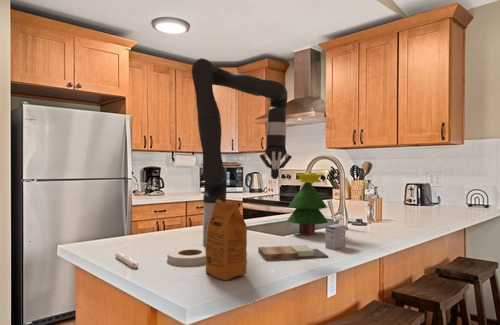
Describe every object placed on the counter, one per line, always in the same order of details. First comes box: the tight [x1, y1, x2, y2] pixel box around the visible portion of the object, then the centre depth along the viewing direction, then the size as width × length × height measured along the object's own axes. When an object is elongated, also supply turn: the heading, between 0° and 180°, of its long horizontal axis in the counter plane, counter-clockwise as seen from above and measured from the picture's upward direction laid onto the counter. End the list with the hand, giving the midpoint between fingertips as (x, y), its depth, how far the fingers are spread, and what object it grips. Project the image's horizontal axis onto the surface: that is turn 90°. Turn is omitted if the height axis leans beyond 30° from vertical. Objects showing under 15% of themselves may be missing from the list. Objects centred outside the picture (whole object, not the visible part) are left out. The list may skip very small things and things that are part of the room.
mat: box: [295, 248, 329, 260], centre depth 132 cm, size 12×11×1 cm
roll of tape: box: [166, 246, 206, 267], centre depth 124 cm, size 16×15×3 cm
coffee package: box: [205, 199, 248, 281], centre depth 107 cm, size 10×12×22 cm
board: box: [257, 245, 298, 261], centre depth 130 cm, size 12×11×2 cm
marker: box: [114, 252, 139, 269], centre depth 119 cm, size 18×2×2 cm, turn 38°
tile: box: [289, 244, 314, 256], centre depth 132 cm, size 6×9×2 cm, turn 10°
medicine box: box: [324, 223, 347, 250], centre depth 143 cm, size 8×4×9 cm, turn 134°
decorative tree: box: [286, 170, 329, 236], centre depth 170 cm, size 19×19×30 cm
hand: (274, 178), depth 140 cm, fingers closed
